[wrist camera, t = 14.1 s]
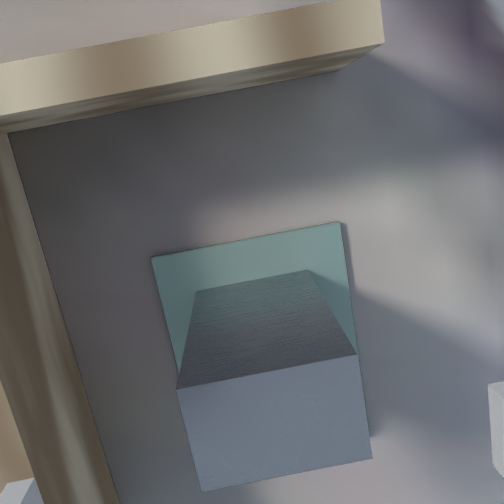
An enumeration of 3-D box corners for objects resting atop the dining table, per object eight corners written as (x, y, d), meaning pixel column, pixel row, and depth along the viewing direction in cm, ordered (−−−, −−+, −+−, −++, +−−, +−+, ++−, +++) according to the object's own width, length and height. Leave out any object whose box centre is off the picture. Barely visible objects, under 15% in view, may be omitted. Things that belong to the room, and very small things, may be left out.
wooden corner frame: (95, 515, 28) (53, 635, 22) (-37, 105, 22) (-152, 92, 16) (388, 459, 28) (438, 560, 22) (333, 35, 22) (379, -9, 16)
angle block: (196, 291, 25) (175, 390, 15) (307, 269, 25) (357, 354, 15) (229, 436, 27) (229, 603, 17) (331, 416, 27) (388, 572, 17)
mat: (202, 465, 28) (202, 469, 28) (151, 257, 25) (150, 258, 24) (368, 433, 28) (369, 436, 28) (338, 221, 25) (339, 222, 24)
